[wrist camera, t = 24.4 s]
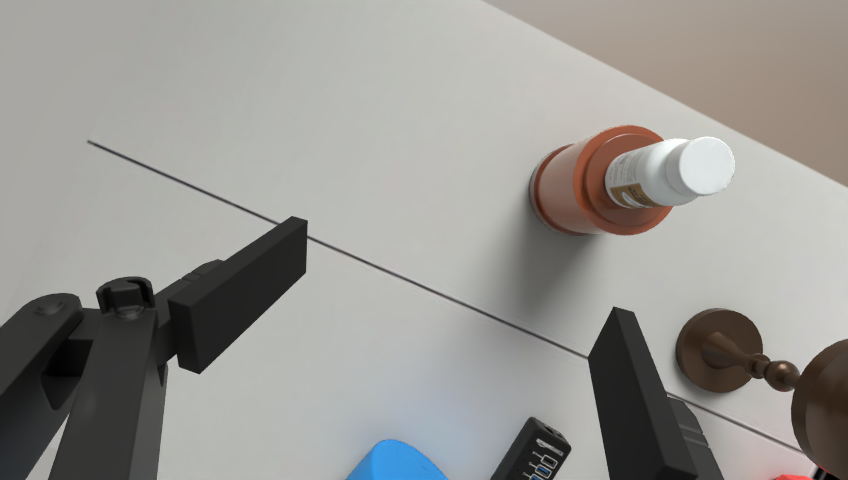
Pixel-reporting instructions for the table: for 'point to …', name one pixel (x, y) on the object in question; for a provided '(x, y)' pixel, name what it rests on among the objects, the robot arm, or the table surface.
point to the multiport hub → (534, 454)
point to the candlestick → (773, 380)
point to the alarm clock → (395, 464)
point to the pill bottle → (670, 173)
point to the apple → (792, 477)
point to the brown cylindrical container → (590, 186)
